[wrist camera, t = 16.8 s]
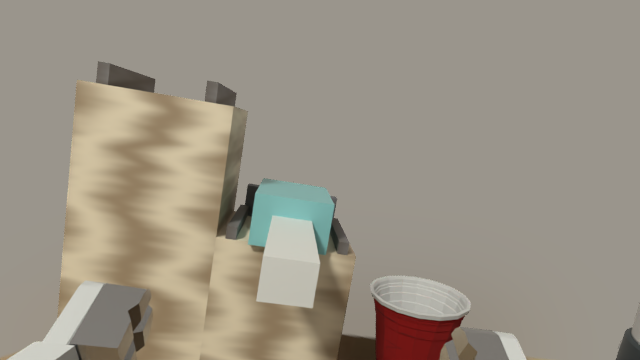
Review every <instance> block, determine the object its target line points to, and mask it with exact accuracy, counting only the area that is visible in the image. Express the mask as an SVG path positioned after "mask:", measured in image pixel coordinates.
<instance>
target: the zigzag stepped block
mask: <svg viewBox="0 0 640 360" xmlns="http://www.w3.org/2000/svg"><path fill="white" fill-rule="evenodd" d="M154 86H155V79H153V78H150V77H147V76H144V75H141V74H139V73H136V72H133V71H130V70H127V69H124V68H121V67H118V66H115V65H112V64H109V63H104V62H98V68H97V79H96V83H93V82H87V81H81V80H77V87H76V98H75V110H74V122H73V134H72V147H71V159H70V171H69V183H68V195H67V208H66V220H65V232H64V244H63V256H62V270H61V281H60V282H61V283H60V293H59V305H58V306H59V307H58V317H59V316H60V314H61V313H62V311H63V310H64V308H65V306H66V305H67V303H68V302H69V300H70V299H71V297H72V296H73V294H74V293H75V291H76V290H77V288H78V287H79V286H80V285H81V284H82V283H83V282H84V281H94V282H102V283H109V284H116V285H123V286H130V287H137V288H144V289H150V292H151V300H150V302H149V304H148V305H149V306H150V307H151V308H152V309H153V320H152V325H151V329H150V333H149V336H148V339H147V341H146V344H145V346H144V347H143V348H141V349H140V350H139V351H137V352H136V356H137V360H337V356H338V350H339V345H340V340H341V334H342V329H343V323H344V318H345V313H346V307H347V302H348V296H349V291H350V285H351V280H352V275H353V269H354V264H355V259H356V256H355V254H354V252H353V250H352V248H351V246H350V244H349V241H348V239H347V237H346V235H345V233H344V231H343V229H342V227H341V225H340V223H339V221H338V219H335V218H334V212H335V207H336V201H337V198H336V197H333V196H330V197H331V199H332V201H333V203H334V205H335V206H334V211H333V217H332V223H331V229H330V234H329V240H328V246H327V252H326V255H321V254H318V255H319V260H320V268H319V274H318V280H317V285H316V291H315V297H314V303H313V308H306V307H298V306H290V305H282V304H274V303H266V302H258V301H256V299H257V292H258V286H259V279H260V273H261V266H262V260H263V254H264V250H265V247H263V246H255V245H248V240H249V233H250V226H251V219H252V213H253V206H254V199H255V193H256V191H257V189H258V187H259V186H260V185H254V184H248V188H247V195H246V203H245V205H240V207H239V208H238V210H237V211H236V212H235V211H234V206H235V199H236V192H237V185H238V178H239V171H240V164H241V157H242V149H243V142H244V135H245V128H246V121H247V113H248V111H246V110H243V109H240V108H237V107H235V100H236V93H235V92H233V91H232V90H230V89H228V88H227V87H225V86H223V85H222V84H220V83H218V82H212V81H207V87H206V96H205V102H204V101H198V100H193V99H187V98H181V97H175V96H169V95H163V94H157V93H154ZM58 317H57V319H58Z"/></svg>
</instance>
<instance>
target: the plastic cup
mask: <svg viewBox="0 0 640 360" xmlns="http://www.w3.org/2000/svg"><path fill="white" fill-rule="evenodd" d="M370 288H371V294H372V296H373V297H374V302H375V311H376V360H440V353H441V349H442V348H443V346H444V344H445V343H447V342H449V341H451V340H453V338H452V335H451V334H452V332H453V331H454V330H455V329H456V328H458V327H459V326H460V324H461V321H462V320H463V318H464V317H465V315H467V314H468V313H469V310H470V306H471V302H470V301H469V300H468V299H467V297H466V296H465V295H464V294H462V293H461V292H459V291H457V290H456V289H454V288H452V287H449V286H447V285H444V284H442V283H439V282H436V281H432V280H428V279H423V278H419V277H410V276H386V277H382V278H379V279H375V280H374V281H373V282H372V283H371V285H370Z"/></svg>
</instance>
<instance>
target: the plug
mask: <svg viewBox="0 0 640 360" xmlns="http://www.w3.org/2000/svg"><path fill="white" fill-rule="evenodd" d="M334 206H335V205H334V203H333V201H332V199H331V197H330V195H329V193H328V191H327V189H326V188H323V187H317V186H310V185H303V184H297V183H291V182H284V181H277V180H271V179H265V178H264V179H263V180H262V182H261V184H260V186H259V187H258V189H257V191H256V193H255V199H254V206H253V213H252V219H251V226H250V233H249V240H248V245H255V246H263V247H265V250H264V254H263V260H262V266H261V273H260V279H259V286H258V292H257V299H256V301H258V302H266V303H274V304H282V305H290V306H298V307H306V308H313V303H314V297H315V291H316V285H317V280H318V274H319V268H320V260H319V255H318V254H321V255H326V252H327V246H328V240H329V234H330V229H331V223H332V217H333V211H334Z"/></svg>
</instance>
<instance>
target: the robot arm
mask: <svg viewBox="0 0 640 360" xmlns="http://www.w3.org/2000/svg"><path fill="white" fill-rule="evenodd" d="M150 300H151V292H150V289H144V288H137V287H130V286H123V285H116V284H109V283H102V282H94V281H84V282H83V283H82V284H81V285H80V286H79V287H78V288H77V290H76V291H75V293H74V294H73V296H72V297H71V299H70V300H69V302H68V303H67V305H66V306H65V308H64V310H63V311H62V313H61V314H60V316H59V317H58V319H57V320H56V322H55V323H54V325H53V326H52V328H51V329H50V331H49V333H48V334H47V335H46V337H45V339H44V340H43V341H42V342H40V341H35V342H33V343H32V344H31V345H29V346H27V347H26V348H24V349H23V350H21V351H19V352H18V353H16V354H15V355H13V356H12V357H10V358H9V359H7V360H137V356H136V352H137V351H139V350H140V349H141V348H143V347H144V346H145V344H146V341H147V339H148V336H149V333H150V329H151V325H152V320H153V309H152V308H151V307H150V306H149V305H148V304H149V302H150ZM451 335H452V338H453V340H451V341H449V342H447V343H445V344H444V346H443V348H442V349H441V353H440V360H526V358H525V355H524V353H523V351H522V349H521V347H520V345H519V342H518V340H517V339H516V337H515V336H514V335H513V334H511V333H504V332H495V331H491V330H482V329H473V328H464V327H458V328H456V329H455V330H454V331H453V332H452V334H451ZM618 348H619V352H618V355H617V358H616V360H640V303H639V307H638V310H637V314H636V318H635V321H634V324H633V327H632V328H629V329H627V330H626V331H625V334H624V337H623V340H621V341H620V344H619V347H618Z"/></svg>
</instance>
